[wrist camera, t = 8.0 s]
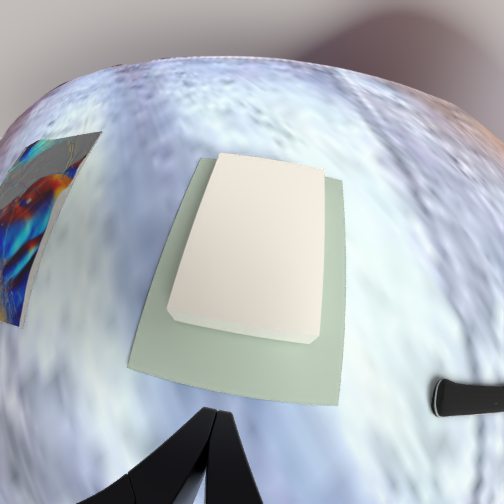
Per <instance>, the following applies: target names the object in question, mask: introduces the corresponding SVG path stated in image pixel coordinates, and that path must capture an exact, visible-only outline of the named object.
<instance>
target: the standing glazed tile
mask: <svg viewBox="0 0 504 504" xmlns="http://www.w3.org/2000/svg"><path fill="white" fill-rule="evenodd" d="M324 242H325V179H324V169H321V168H316V167H311V166H306V165H300V164H295V163H289V162H283V161H277V160H271V159H265V158H258V157H251V156H244V155H236V154H227V153H220V154H219V156H218V159H217V162H216V164H215V167H214V169H213V172H212V174H211V177H210V180H209V182H208V185H207V187H206V190H205V193H204V195H203V198H202V201H201V204H200V206H199V209H198V212H197V215H196V218H195V220H194V223H193V226H192V229H191V232H190V235H189V238H188V241H187V244H186V247H185V250H184V253H183V256H182V259H181V262H180V265H179V269H178V272H177V275H176V278H175V281H174V285H173V288H172V291H171V295H170V298H169V302H168V305H167V311H168V312H169V313H170V315H171V316H172V317H173V319H174V320H175V321H179V322H183V323H188V324H192V325H197V326H202V327H206V328H211V329H216V330H222V331H227V332H232V333H238V334H243V335H249V336H255V337H261V338H268V339H274V340H281V341H288V342H295V343H303V344H310V343H311V342H313V341H314V340H315V339H316V338H317V337H319V334H320V322H321V308H322V293H323V273H324Z"/></svg>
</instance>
